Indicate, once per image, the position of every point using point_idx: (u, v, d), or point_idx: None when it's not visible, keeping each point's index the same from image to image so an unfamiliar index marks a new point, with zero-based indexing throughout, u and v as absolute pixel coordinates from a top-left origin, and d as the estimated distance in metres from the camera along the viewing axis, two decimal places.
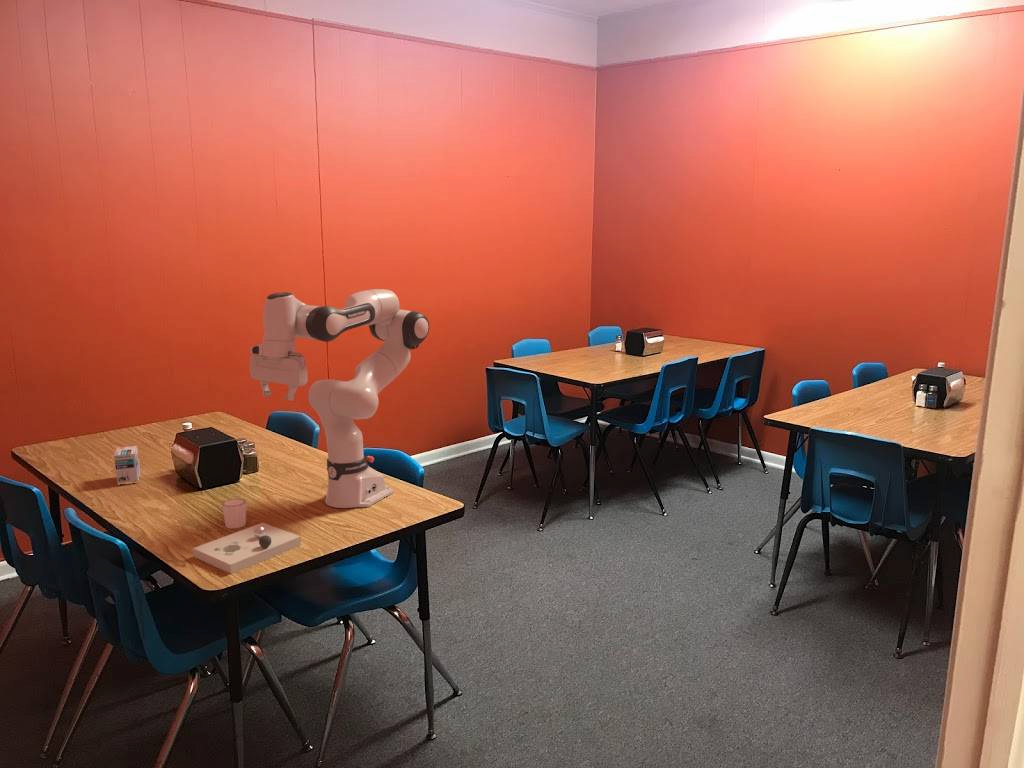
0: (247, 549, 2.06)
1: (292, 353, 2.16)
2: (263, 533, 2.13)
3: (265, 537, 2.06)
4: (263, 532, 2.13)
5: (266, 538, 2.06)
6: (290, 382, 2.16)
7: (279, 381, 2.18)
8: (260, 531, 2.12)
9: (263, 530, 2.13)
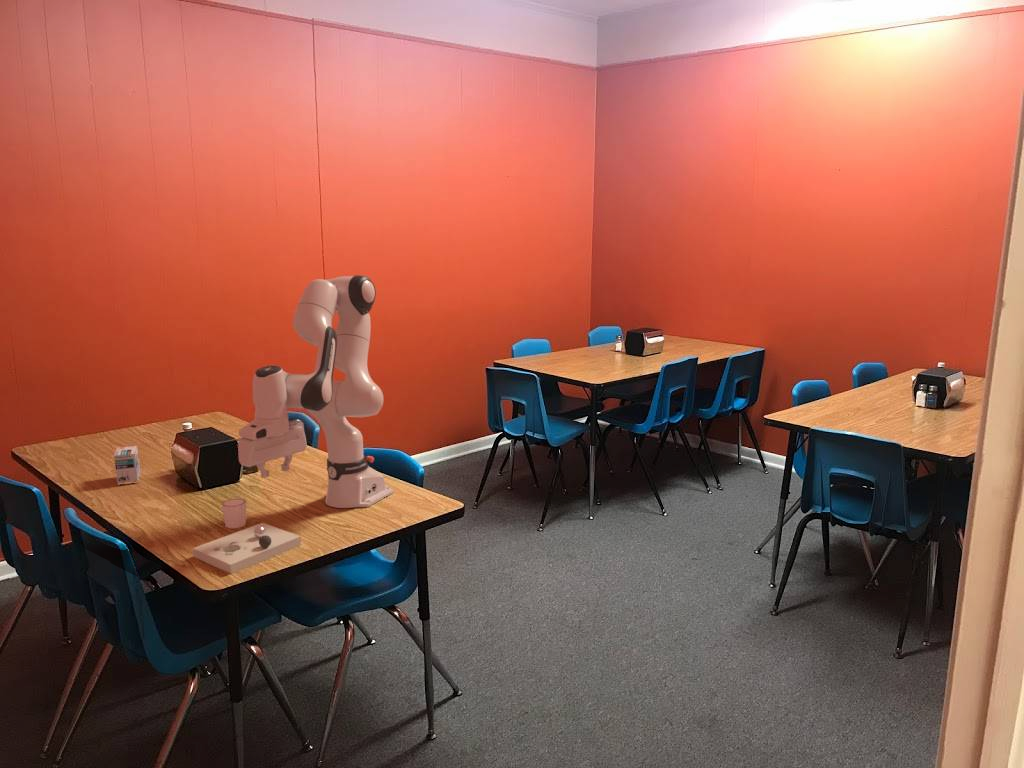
0: (247, 549, 2.06)
1: (291, 422, 2.17)
2: (263, 533, 2.13)
3: (265, 537, 2.06)
4: (263, 532, 2.13)
5: (266, 538, 2.06)
6: (298, 450, 2.19)
7: (285, 454, 2.15)
8: (260, 531, 2.12)
9: (263, 530, 2.13)
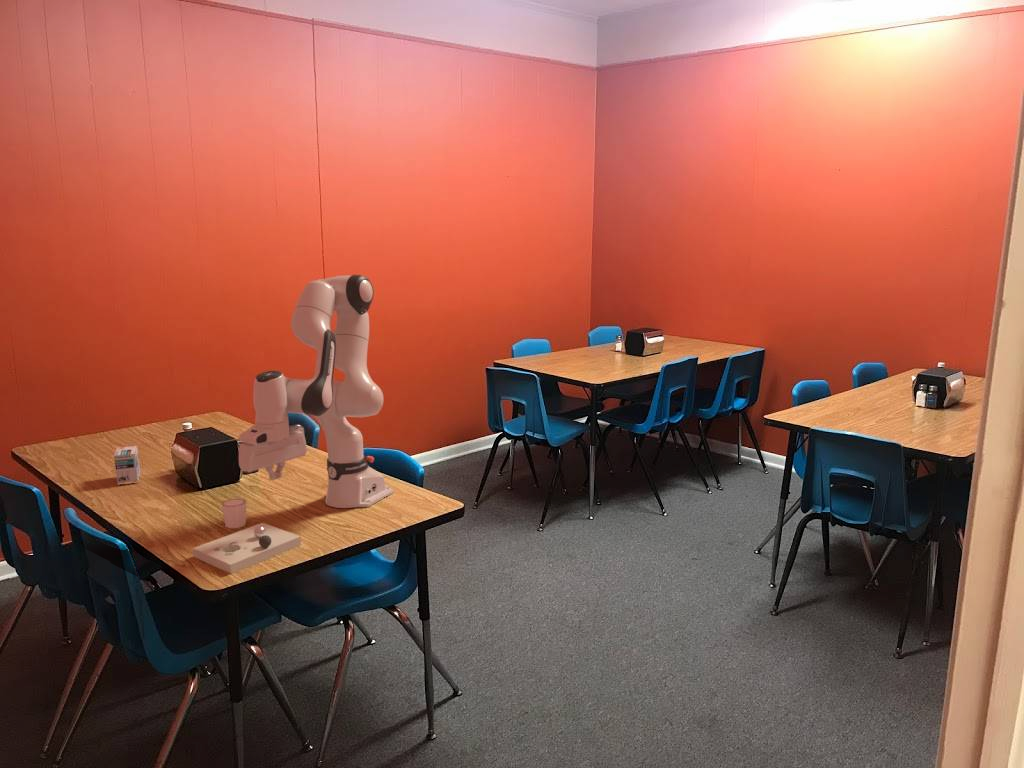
0: (247, 549, 2.06)
1: (291, 427, 2.17)
2: (263, 533, 2.13)
3: (265, 537, 2.06)
4: (263, 532, 2.13)
5: (266, 538, 2.06)
6: (299, 455, 2.19)
7: (285, 459, 2.15)
8: (260, 531, 2.12)
9: (263, 530, 2.13)
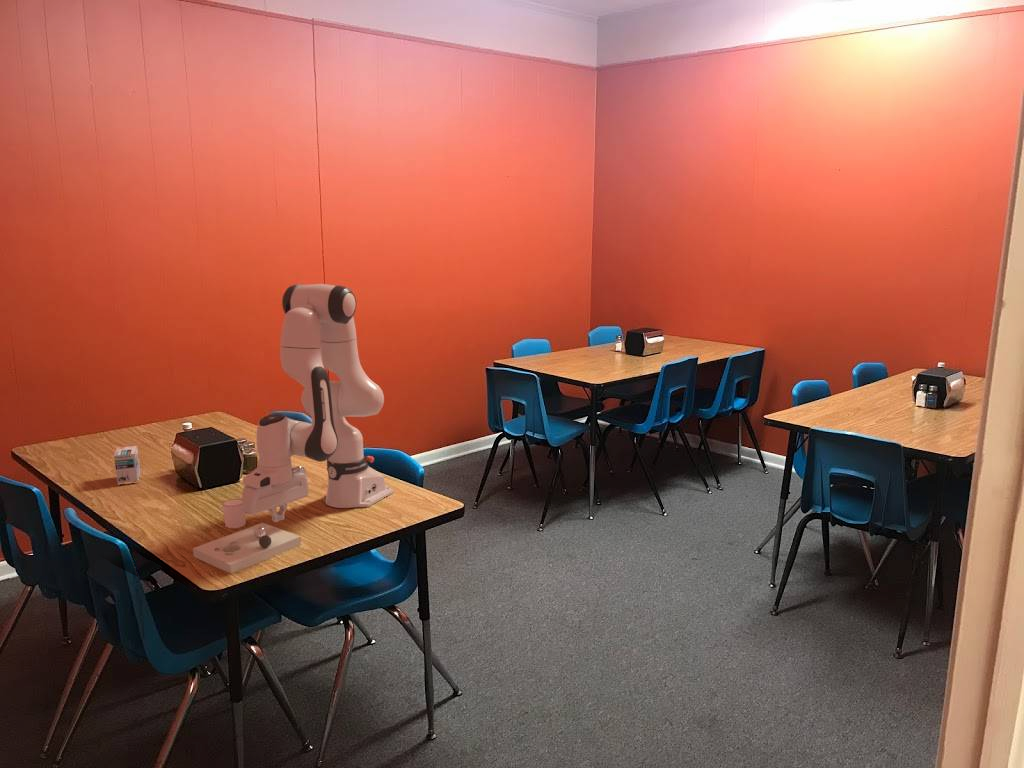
0: (247, 549, 2.06)
1: (294, 469, 2.20)
2: (263, 533, 2.13)
3: (265, 537, 2.06)
4: (263, 532, 2.13)
5: (266, 538, 2.06)
6: (301, 496, 2.21)
7: (288, 501, 2.18)
8: (260, 531, 2.12)
9: (263, 530, 2.13)
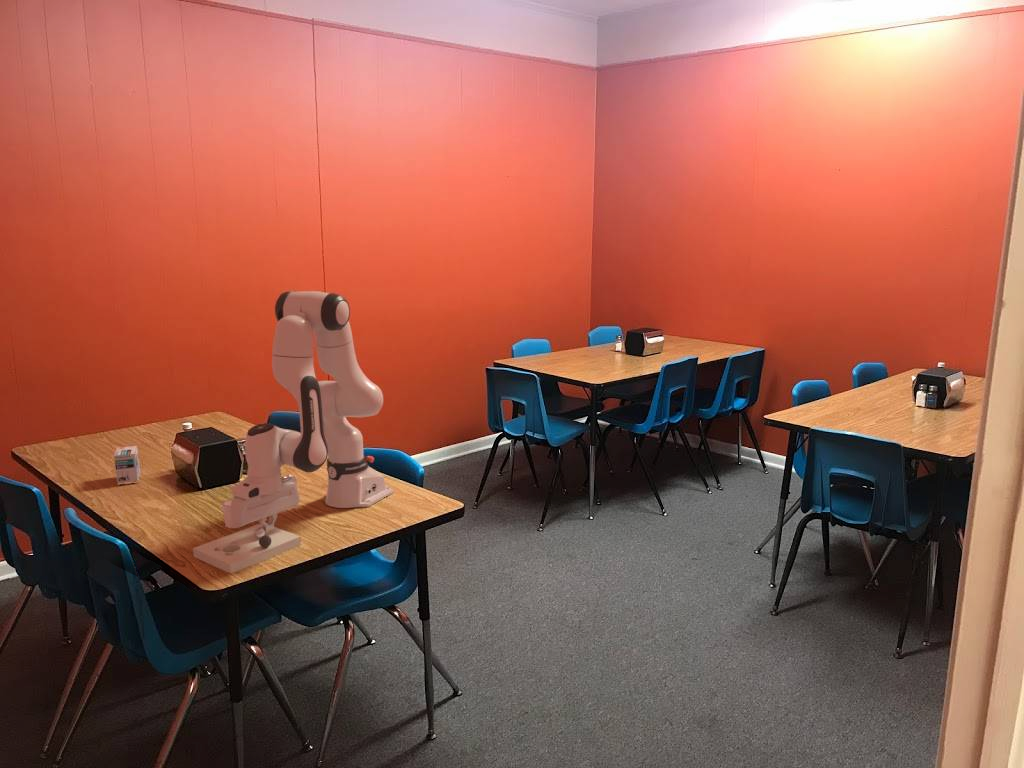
0: (247, 549, 2.06)
1: (284, 478, 2.17)
2: (262, 533, 2.12)
3: (265, 537, 2.06)
4: (262, 532, 2.12)
5: (266, 538, 2.06)
6: (291, 505, 2.19)
7: (278, 511, 2.15)
8: (259, 532, 2.12)
9: (262, 530, 2.12)
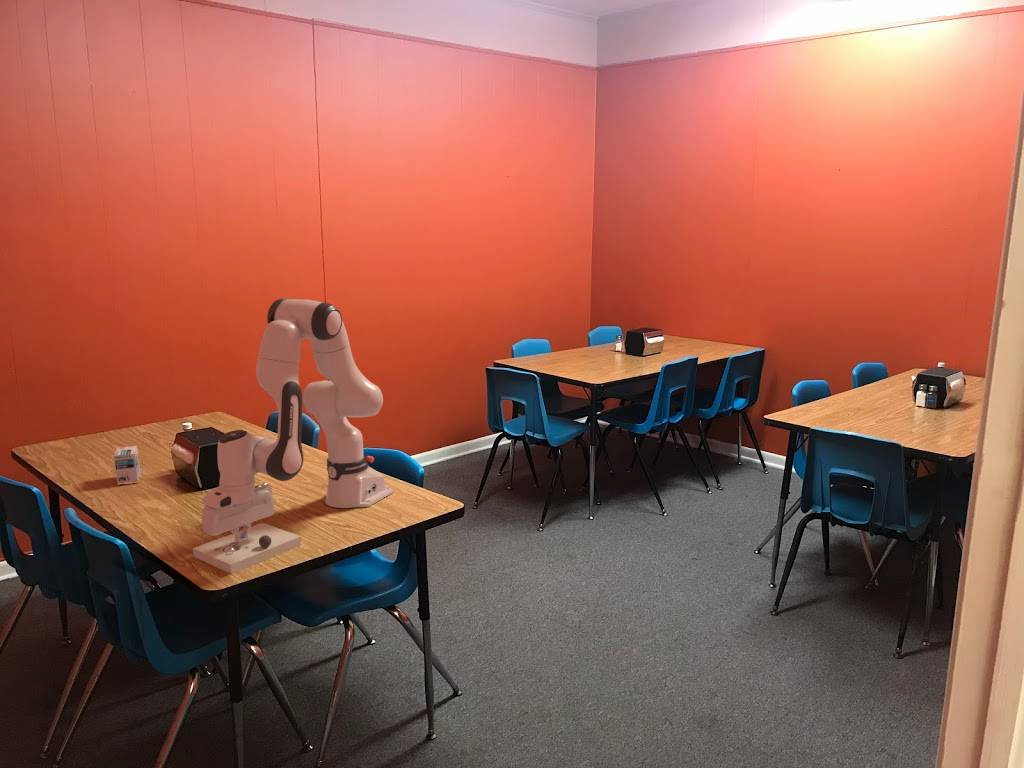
0: (247, 549, 2.06)
1: (258, 487, 2.11)
2: None
3: (265, 537, 2.06)
4: None
5: (266, 538, 2.06)
6: (266, 514, 2.12)
7: (252, 520, 2.09)
8: None
9: (232, 551, 2.06)
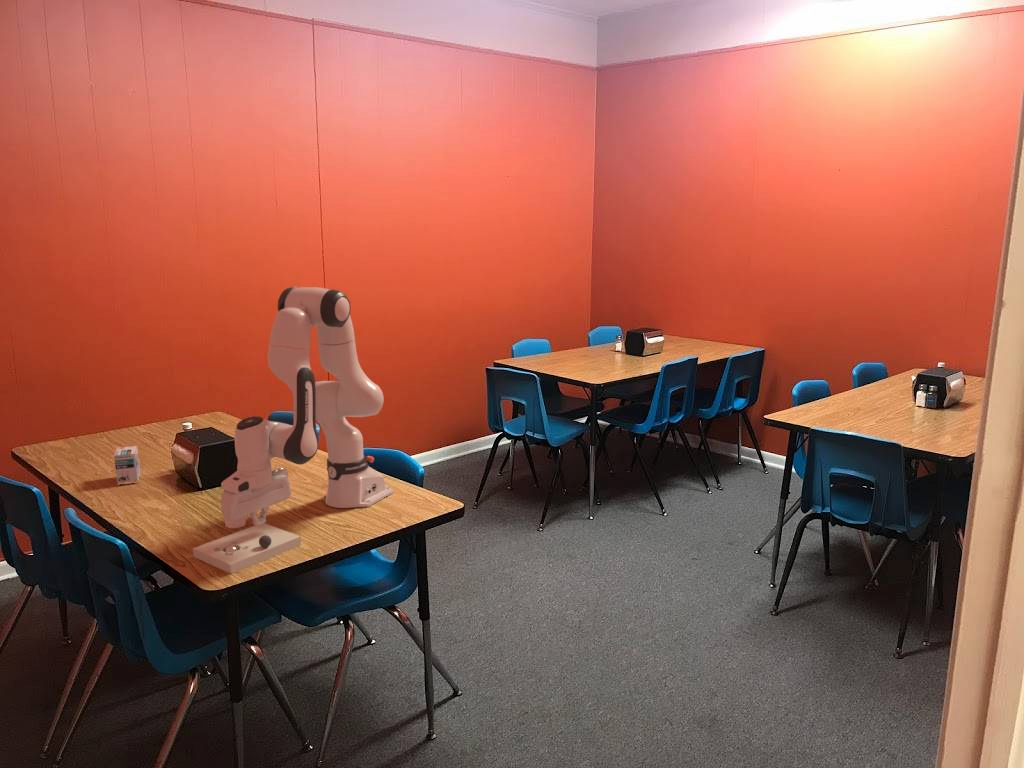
0: (247, 549, 2.06)
1: (274, 471, 2.16)
2: None
3: (265, 537, 2.06)
4: None
5: (266, 538, 2.06)
6: (283, 498, 2.17)
7: (269, 504, 2.14)
8: (232, 551, 2.05)
9: (235, 550, 2.06)
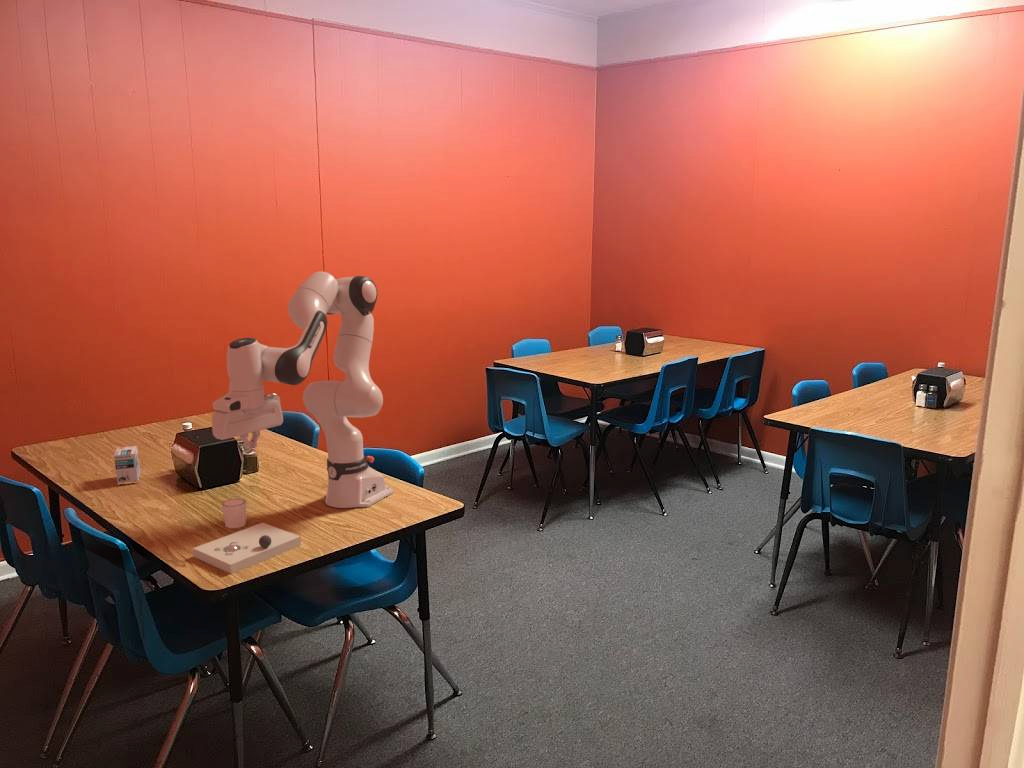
0: (247, 549, 2.06)
1: (266, 396, 2.14)
2: None
3: (265, 537, 2.06)
4: None
5: (266, 538, 2.06)
6: (274, 424, 2.16)
7: (261, 428, 2.12)
8: (234, 550, 2.06)
9: (237, 549, 2.07)
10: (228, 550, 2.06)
